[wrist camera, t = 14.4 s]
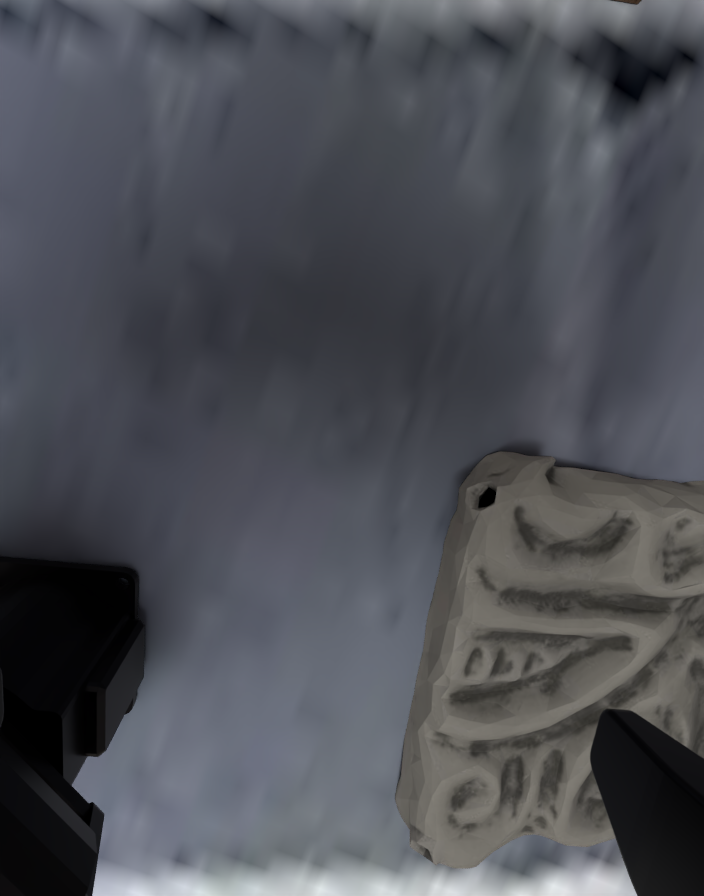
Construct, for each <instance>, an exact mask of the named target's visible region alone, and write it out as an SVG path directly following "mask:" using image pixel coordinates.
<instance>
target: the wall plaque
mask: <svg viewBox="0 0 704 896" xmlns="http://www.w3.org/2000/svg"><path fill="white" fill-rule="evenodd" d="M555 461H556V460H555V459H554V458H553V457H552V456H526V455H522V454H519V453H515V452H502V451H500V452H496V453H493V454H490V455H487V456H485V457H484V458H483V459H482V460H481V461H480V462H479V463H478V464H477V465H476V467H475V468H474V469H473V470H472V472H471V473H470V474H469V476H468V477H467V478H466V480H465V481H464V482H463V483H462V485H461V486H460V488H459V496H458V506H457V510H456V512H455V514H454V516H453V518H452V519H451V522H450V526H449V529H448V532H447V535H446V538H445V541H444V548H443V554H442V559H441V565H440V570H439V574H438V577H437V581H436V585H435V590H434V594H433V598H432V602H431V605H430V609H429V613H428V618H427V623H426V631H425V640H424V648H423V653H422V657H421V661H420V666H419V670H418V674H417V679H416V685H415V691H414V696H413V700H412V705H411V709H410V714H409V719H408V724H407V728H406V733H405V738H404V746H403V759H402V769H401V777H400V780H399V782H398V785H397V790H396V795H395V800H396V804H397V808H398V810H399V812H400V815H401V817H402V819H403V820H404V822H405V823H406V825H407V826H408V828H409V829H410V847H411V848H413V849H414V850H415V851H417V852H418V853H420V854H421V855H423V856H424V857H426V858H427V859H429V860H430V861H431V862H433V863H434V864H435V865H437V864H438V863H441V864H444V865H447V866H449V867H452V868H472V867H476V866H477V865H478V864H480V863H481V862H482V861H483V860H484V859H485V858H487V857H488V856H489V855H490V854H491V853H492V852H494V851H495V850H497V849H499V848H500V847H502V846H503V845H505V844H507V843H508V842H510V841H512V840H514V839H516V838H518V837H521V836H523V835H531V834H535V835H541V836H544V837H547V838H549V839H552V840H554V841H556V842H559V843H561V844H564V845H568V846H581V847H589V846H592V845H595V844H598V843H601V842H604V841H608V840H611V839H614V838H615V835H614V832H613V829H612V826H611V823H610V821H609V818H608V815H607V812H606V809H605V806H604V803H603V800H602V798H601V795H600V792H599V789H598V786H597V783H596V780H595V777H594V775H593V772H592V768H591V763H590V751H591V747H592V743H593V739H594V736H595V732H596V728H597V724H598V721H599V717H600V714H601V713H602V711H603V710H605V709H608V708H611V709H625V710H631V711H633V712H635V713H636V714H638V715H639V716H641V717H642V718H644V719H645V720H647V721H648V722H650V723H651V724H653V725H654V726H656V727H657V728H659V729H660V730H662V731H663V732H665V733H666V734H668V735H669V736H671V737H672V738H674V739H675V740H677V741H678V742H680V743H681V744H683V745H684V746H686V747H687V748H689V749H690V750H692V751H693V752H695V753H696V754H698V755H699V756H701V757H702V758H704V481H692V482H685V483H677V482H674V481H665V480H657V479H655V480H644V479H633V478H630V477H626V476H622V475H619V474H615V473H607V472H599V471H592V470H585V469H578V468H569V467H556V466H553V465H554V463H555ZM488 487H490V488H491V489H493V490H495V491H496V499H495V503H493V504H491V505H490V506H488V507H483V508H479V500H480V499H481V497H482V496H483V494H484V493H485V492H486V490H487V489H488Z"/></svg>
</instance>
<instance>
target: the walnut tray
mask: <svg viewBox="0 0 704 896" xmlns="http://www.w3.org/2000/svg"><path fill="white" fill-rule="evenodd" d="M615 1H621V2H627V3H633V4H638V3H639V2H640V1H641V0H615Z"/></svg>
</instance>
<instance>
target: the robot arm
mask: <svg viewBox="0 0 704 896" xmlns="http://www.w3.org/2000/svg"><path fill="white" fill-rule="evenodd" d="M119 578H124V579H126V580H127V581H128V583H129V585H125V584H122V583H121V582H120V579H119ZM138 597H139V578H138V575H137V573H136V572H135V571H134V570H132V569H130V568H126V567H115V566H103V565H91V564H79V563H68V562H56V561H44V560H32V559H20V558H9V557H0V896H92V893H93V887H94V880H95V873H96V867H97V860H98V854H99V847H100V840H101V834H102V827H103V821H104V813H103V812H102V811H101V810H100V809H99V808H98V807H97V806H96V805H95V804H94V803H93V802H91V803H88V802H87V801H86V800H85V799H84V798H83V797H82V796H81V795H80V794H79V793H78V792H77V791H76V790H75V789H74V788H73V787H72V784H73V782H74V780H75V778H76V776H77V775H78V773H79V771H80V769H81V767H82V765H83V764H84V762H85V760H86V758H87V756H93V757H99V756H100V755H101V754H102V753H104V752H105V751H106V750H107V748H108V746H109V744H110V742H111V740H112V738H113V736H114V734H115V732H116V730H117V728H118V726H119V724H120V722H121V720H122V719H123V717H124V715H125V714H127V713H129V712H130V711H131V710H132V708H133V706H134V704H135V702H136V691H137V689H138V687H139V685H140V683H141V681H142V679H143V677H144V647H145V625H144V624H143V622H142V621H141V620H140V619H138ZM590 763H591V768H592V772H593V775H594V777H595V780H596V783H597V786H598V789H599V792H600V795H601V798H602V800H603V803H604V806H605V809H606V812H607V815H608V818H609V821H610V823H611V826H612V829H613V832H614V835H615V838H616V841H617V843H618V846H619V849H620V852H621V855H622V858H623V861H624V863H625V866H626V869H627V871H628V874H629V877H630V879H631V882H632V884H633V886H634V889H635V891H636V893H637V896H704V758H702V757H701V756H699V755H698V754H696V753H695V752H693V751H692V750H690V749H689V748H687V747H686V746H684V745H683V744H681V743H680V742H678V741H677V740H675V739H674V738H672V737H671V736H669V735H668V734H666V733H665V732H663V731H662V730H660V729H659V728H657V727H656V726H654V725H653V724H651V723H650V722H648V721H647V720H645V719H644V718H642V717H641V716H639V715H638V714H636V713H635V712H633V711H631V710H625V709H611V708H608V709H605V710H603V711H602V713H601V714H600V717H599V721H598V724H597V728H596V732H595V736H594V739H593V743H592V747H591V751H590Z"/></svg>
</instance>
